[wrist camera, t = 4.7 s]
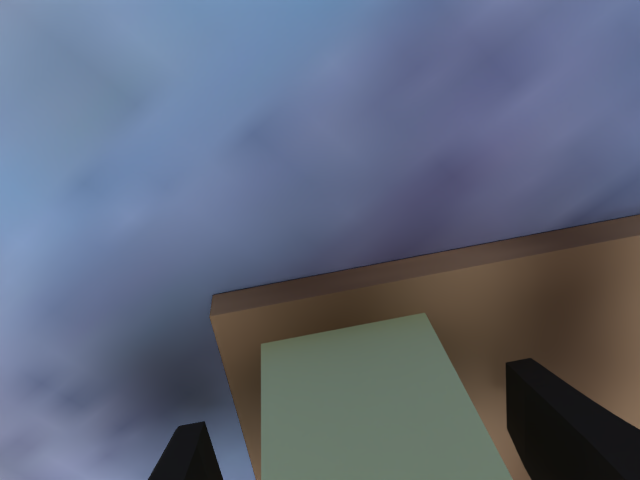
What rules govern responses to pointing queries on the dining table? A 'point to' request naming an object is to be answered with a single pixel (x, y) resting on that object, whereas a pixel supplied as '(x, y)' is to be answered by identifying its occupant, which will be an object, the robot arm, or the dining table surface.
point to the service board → (468, 319)
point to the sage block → (370, 408)
